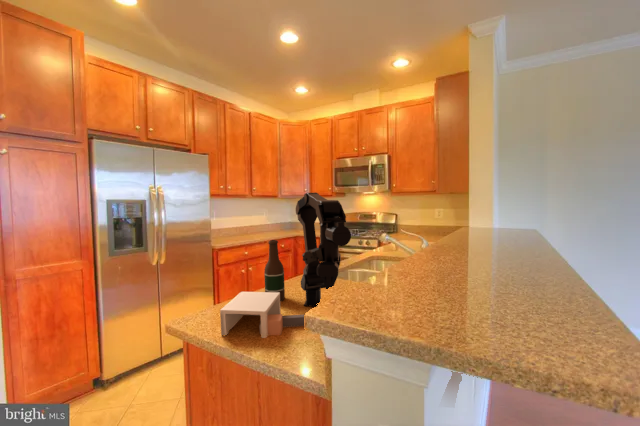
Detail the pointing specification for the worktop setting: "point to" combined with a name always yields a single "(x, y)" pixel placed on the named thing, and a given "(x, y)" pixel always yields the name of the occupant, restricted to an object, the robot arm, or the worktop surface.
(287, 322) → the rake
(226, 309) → the cubby
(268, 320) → the cube
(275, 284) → the beer bottle
